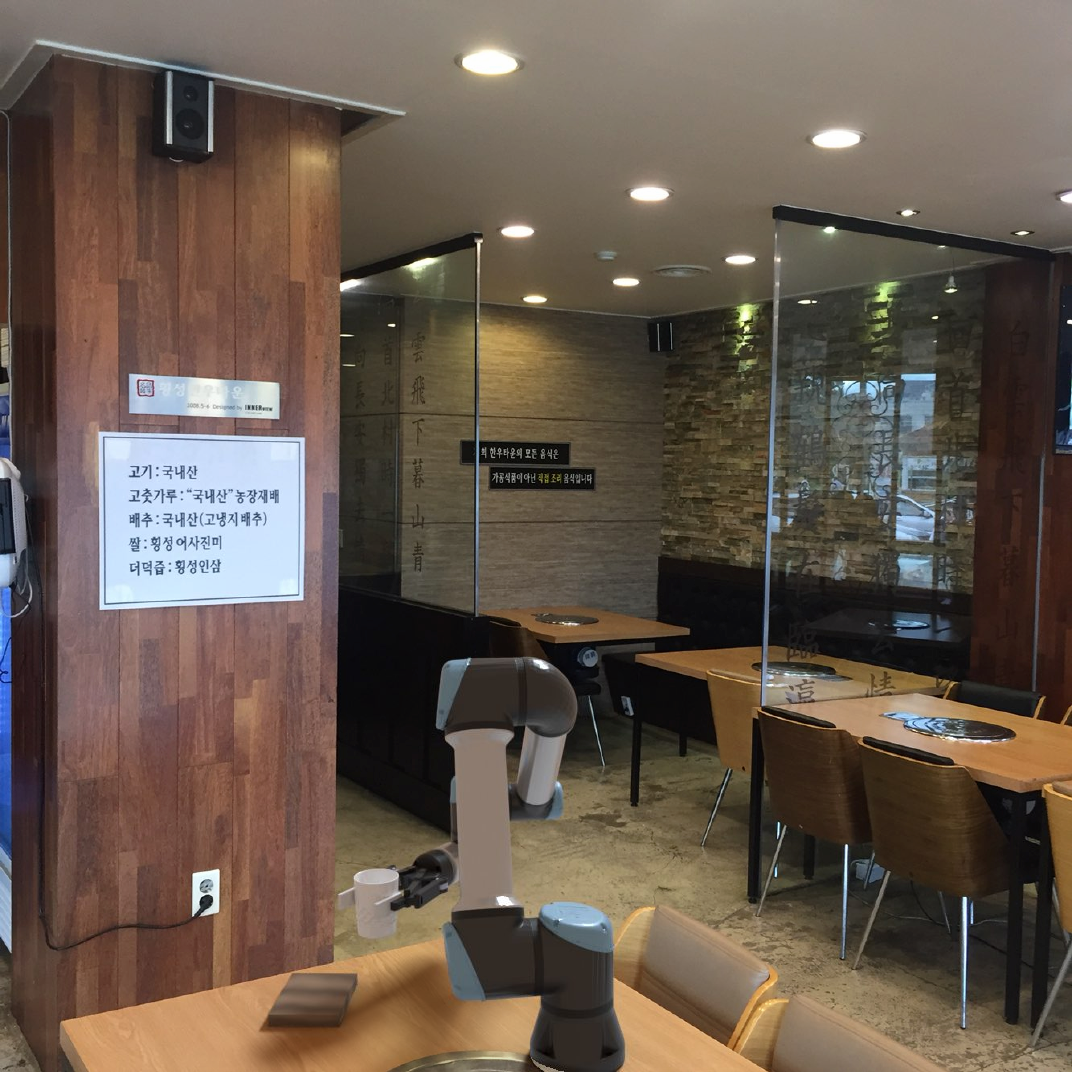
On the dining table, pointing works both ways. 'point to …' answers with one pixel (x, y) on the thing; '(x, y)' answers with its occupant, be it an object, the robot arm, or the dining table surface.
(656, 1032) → the dining table surface
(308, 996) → the walnut board
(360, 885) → the white cup
